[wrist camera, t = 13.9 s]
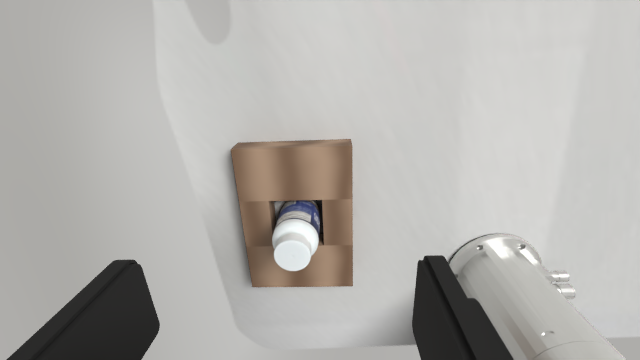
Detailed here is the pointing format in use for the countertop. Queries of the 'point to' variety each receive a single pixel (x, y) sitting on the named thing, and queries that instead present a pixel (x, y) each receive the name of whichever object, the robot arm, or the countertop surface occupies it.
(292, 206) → the pill bottle
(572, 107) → the countertop surface
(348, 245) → the socket block
